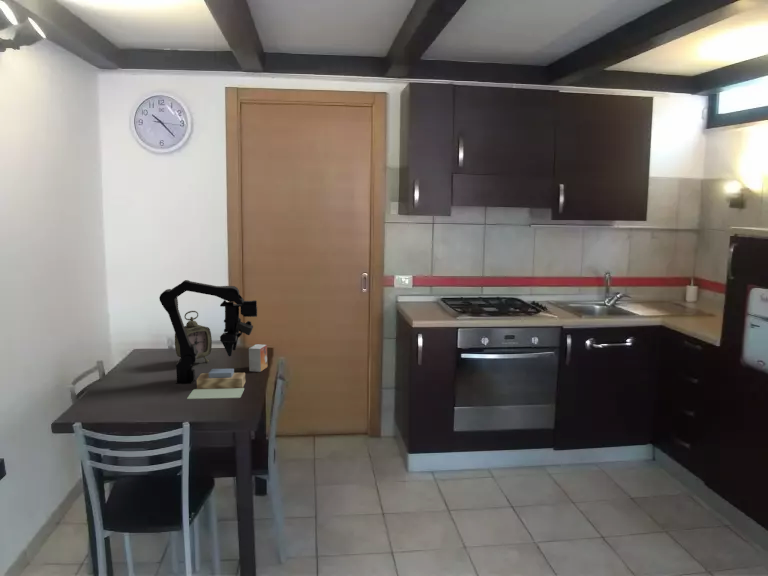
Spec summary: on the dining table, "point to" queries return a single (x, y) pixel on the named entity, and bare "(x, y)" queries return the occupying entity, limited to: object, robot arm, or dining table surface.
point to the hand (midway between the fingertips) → (232, 353)
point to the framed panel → (220, 381)
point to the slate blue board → (221, 373)
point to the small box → (258, 357)
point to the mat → (216, 393)
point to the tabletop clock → (197, 338)
